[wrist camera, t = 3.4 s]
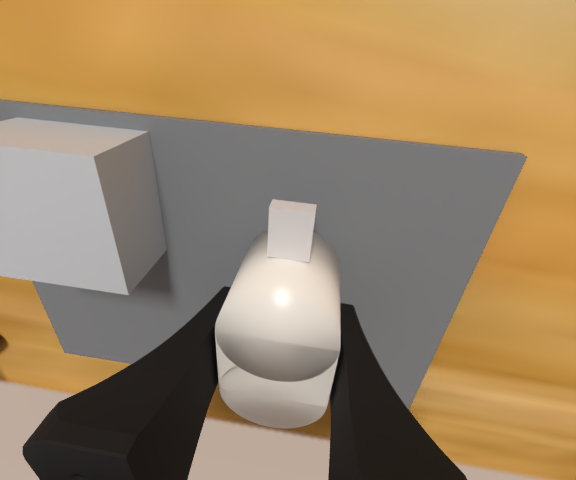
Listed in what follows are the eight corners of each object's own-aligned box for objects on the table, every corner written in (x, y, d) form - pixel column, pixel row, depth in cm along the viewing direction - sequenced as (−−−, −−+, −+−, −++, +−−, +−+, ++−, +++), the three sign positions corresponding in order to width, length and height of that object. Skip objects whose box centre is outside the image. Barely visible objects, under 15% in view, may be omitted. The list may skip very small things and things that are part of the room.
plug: (320, 373, 17) (315, 455, 13) (245, 361, 17) (222, 439, 14) (356, 188, 11) (363, 250, 8) (245, 175, 12) (207, 229, 8)
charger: (59, 234, 14) (-1, 275, 12) (17, 117, 12) (-72, 137, 9) (167, 249, 14) (128, 295, 11) (148, 131, 11) (93, 156, 9)
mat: (69, 347, 19) (64, 352, 19) (-40, 95, 12) (-51, 96, 12) (407, 403, 18) (408, 410, 17) (521, 153, 10) (527, 156, 10)
